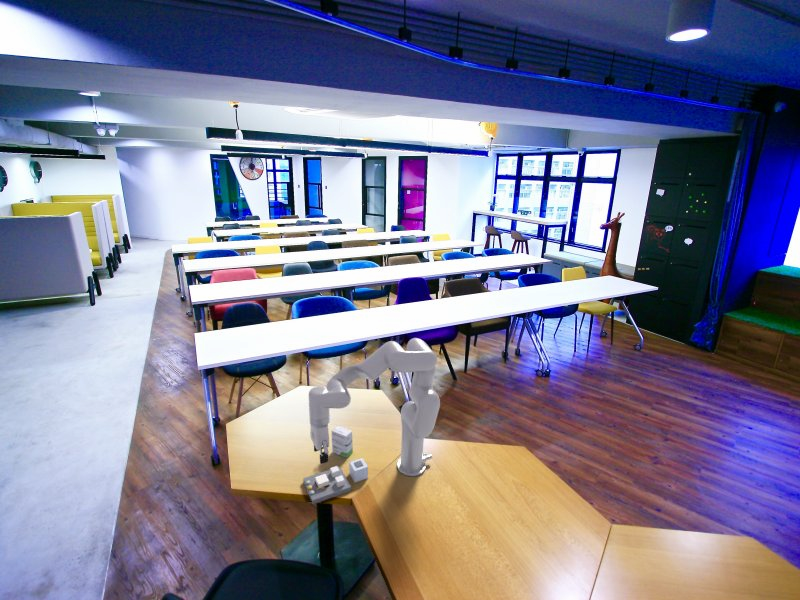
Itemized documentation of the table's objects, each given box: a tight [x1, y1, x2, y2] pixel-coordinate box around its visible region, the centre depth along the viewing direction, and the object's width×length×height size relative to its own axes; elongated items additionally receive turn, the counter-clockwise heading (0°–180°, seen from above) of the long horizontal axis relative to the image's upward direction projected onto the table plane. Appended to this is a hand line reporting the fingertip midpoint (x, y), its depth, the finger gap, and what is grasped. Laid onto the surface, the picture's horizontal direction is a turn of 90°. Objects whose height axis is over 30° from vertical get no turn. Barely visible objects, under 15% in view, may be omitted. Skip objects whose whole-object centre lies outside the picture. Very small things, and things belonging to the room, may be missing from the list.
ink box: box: [331, 425, 354, 459], centre depth 187 cm, size 9×5×12 cm, turn 62°
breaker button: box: [315, 474, 329, 489], centre depth 167 cm, size 4×4×2 cm
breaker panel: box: [302, 465, 352, 505], centre depth 168 cm, size 16×13×5 cm
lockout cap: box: [348, 457, 369, 483], centre depth 174 cm, size 6×6×6 cm
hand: (321, 456), depth 163 cm, fingers open, 7 cm apart
